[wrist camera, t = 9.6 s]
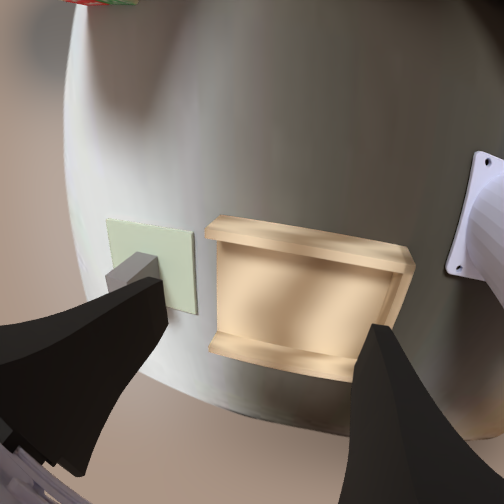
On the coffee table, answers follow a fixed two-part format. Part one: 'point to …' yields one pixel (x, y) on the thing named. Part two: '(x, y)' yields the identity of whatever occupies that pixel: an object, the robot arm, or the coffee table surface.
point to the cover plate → (167, 253)
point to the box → (302, 294)
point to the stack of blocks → (103, 2)
